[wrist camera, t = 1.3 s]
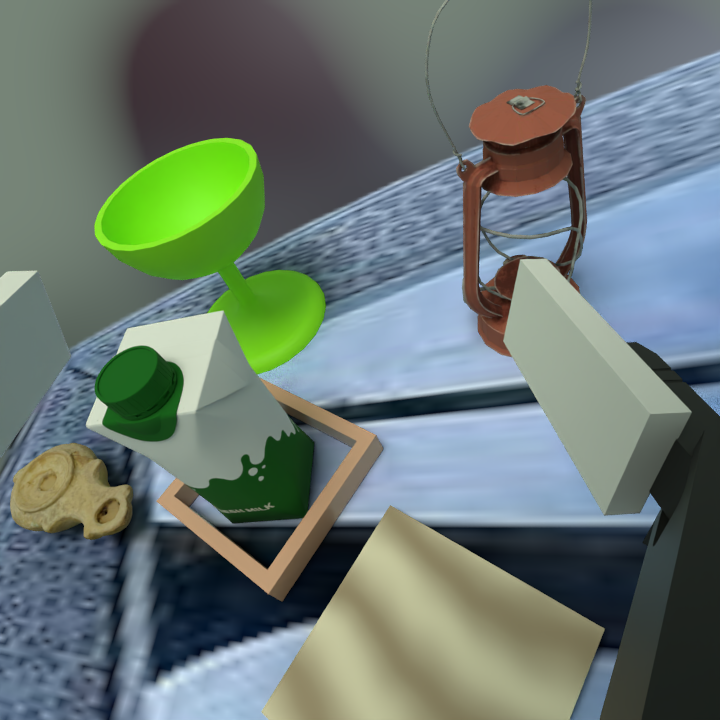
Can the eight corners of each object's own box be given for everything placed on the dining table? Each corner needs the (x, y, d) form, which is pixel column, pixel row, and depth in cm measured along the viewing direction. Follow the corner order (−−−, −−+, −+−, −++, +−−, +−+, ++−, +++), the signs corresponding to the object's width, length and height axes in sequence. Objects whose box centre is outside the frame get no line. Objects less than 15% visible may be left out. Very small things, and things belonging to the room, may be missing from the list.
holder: (270, 391, 51) (259, 377, 49) (383, 448, 43) (376, 435, 41) (172, 511, 46) (156, 501, 44) (282, 601, 38) (268, 593, 36)
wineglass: (195, 304, 64) (100, 183, 50) (309, 254, 63) (244, 118, 50) (203, 398, 53) (86, 278, 40) (341, 340, 53) (270, 197, 39)
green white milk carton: (221, 535, 43) (45, 418, 28) (240, 441, 48) (102, 301, 33) (317, 528, 41) (182, 398, 26) (325, 431, 46) (218, 276, 31)
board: (393, 510, 40) (390, 505, 39) (603, 632, 31) (604, 629, 30) (268, 712, 34) (261, 711, 33) (485, 932, 25) (483, 939, 24)
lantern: (569, 369, 43) (597, -57, 20) (456, 348, 48) (375, -16, 25) (592, 288, 47) (637, -136, 25) (486, 276, 52) (442, -88, 29)
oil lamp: (147, 545, 44) (110, 526, 41) (14, 569, 47) (-33, 553, 43) (168, 441, 51) (138, 416, 47) (51, 467, 54) (13, 445, 50)
